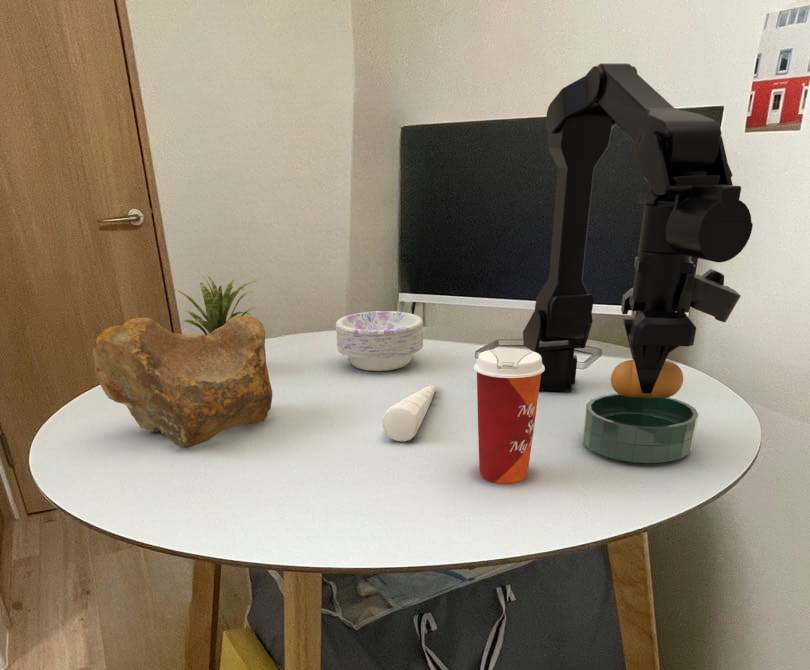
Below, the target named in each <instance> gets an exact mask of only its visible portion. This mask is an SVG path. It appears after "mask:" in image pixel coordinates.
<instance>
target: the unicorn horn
mask: <svg viewBox="0 0 810 670" xmlns="http://www.w3.org/2000/svg"><path fill="white" fill-rule="evenodd" d="M436 388H437V386H436V385H435V384H431V385H428V386H426V387H424V388H422V389H420V390H418V391H416V392H414V393H412V394H410V395H409V396H407V397H405V398H403V399H402V400H400V401H398V402H397V403H395V404H393V405H392V406H390V407H389V408H388V409H387V410H386V411H385V413H384V415H383V417H382V428H383V431H384V434H385V435H386V436H387V437H388V438H389V439H391V440H394V441H396V442H404V443H405V442H408V441H411V440H412V439H413V438H414V437H415V436H416V435H417V434H418V431H419V429H420V427H421V424H422V423H423V420H424V419H425V416H426V414H427V412H428V410H429V407H430V406H431V404H432V401H433V399H434V395H435V393H436Z"/></svg>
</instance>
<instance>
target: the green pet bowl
mask: <svg viewBox="0 0 810 670" xmlns="http://www.w3.org/2000/svg"><path fill="white" fill-rule="evenodd" d="M698 419H699V412H698V410H697V409H696V408H695V407H694V406H692V405H690V404H689V403H687V402H685V401H682V400H679V399H677V398H672V397H668V398H642V397H625V396H621V395H619V394H618V393H610V394H605V395H599V396H597V397H595V398H592V399H590V400H589V401H588V402H587V403H586V404H585V413H584V422H583V430H582V431H583V432H582V442H583V444H584V445H585V446H586V448H588V450H591V451H593V452H595V453H597V454H598V455H601V456H604V457H607V458H610V459H612V460H616V461H620V462H626V463H634V464H659V463H668V462H673V461H676V460H680V459H682V458H684V457H685V456H688V455H689V454H690V453H691V451H692V450H693V446H694V440H695V435H696V430H697V426H698V421H699V420H698Z"/></svg>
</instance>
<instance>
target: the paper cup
mask: <svg viewBox="0 0 810 670" xmlns="http://www.w3.org/2000/svg"><path fill="white" fill-rule="evenodd" d="M473 369H474V371H475V372H476V395H477V396H476V397H477V398H476V399H477V400H476V401H477V432H478V433H477V438H478V439H477V441H478V465H479V466H478V467H479V468H478V469H479V475H480V477H481V478H482V479H483V480H485V481H487V482H489V483H493V484H498V485H499V484H501V485H511V484H518V483H521V482H522V481H524V480H526V479H527V476H528V473H529V466H530V459H531V452H532V445H533V437H534V430H535V424H536V416H537V409H538V403H539V401H538V400H539V393H540V390H539V387H540V380H541V373H542V372H544V370H545V367H544V365H543V364H542V358H541V356H540V354H538V353H536V352H533V351H531V350H530V349H523V348H509V347H507V348H493V349H487V350H485V351H482V352H480V353H479V354H478V356H477V361H476V363H475V364H474V365H473Z"/></svg>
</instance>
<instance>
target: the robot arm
mask: <svg viewBox="0 0 810 670" xmlns="http://www.w3.org/2000/svg"><path fill="white" fill-rule="evenodd" d="M545 116H546V117H545V127H546V130H547V147H548V150H549V152H550V155H551V157H552V158H553V161H554V163H555V165H556V167H557V175H556V188H555V201H554V213H553V225H552V235H551V236H552V237H551V248H550V259H549V260H550V262H549V272H548V278H547V280H546V282H545V283H544V285H543V287H542V288H541V290H540V291H539V293H538V294H537V296H536V298H535V305H534V312H533V313H532V314H531V316H530V318H529V320H528V322H527V323H526V325H525V327H524V329H523V331H522V340H523V343H522V344H523V346H524V347H525V348H527V350H529V351H533V352H536V353H538V354H540V356H541V358H542V364H543V365H544V367H545V370H544V372H542V373H541V380H540V387H539V391H547V392H572V389H573V386H574V385H576V379H577V378H576V376H577V367H578V355H577V354H575V349H585V348H586V346H587V342H588V339H589V335H590V332H591V329H592V325H593V321H594V319H593V307H594V302H595V299H594V297H593V294H590V293H589V292H588V290H587V288H586V286H585V283H584V282H583V281H584V280H583V279H584V278H583V276H584V267H585V257H586V249H587V238H588V229H589V221H590V210H591V203H592V200H591V199H592V193H593V192H592V191H593V183H594V174H595V168H596V167H597V165H598V163H599V162H600V160H601V159H602V158H603V156H604V154H605V153H606V151H607V149H608V148H609V145H610V142H611V141H610V140H611V136H612V130H613V129H614V128H615V127H616V126H618V127H619V128H620V129H621V130H622V131H623V132H624V133H625V134H626V135H627V136H628V137H629V139H630V140H631V141H632V142H633V143H634V144H635V146H636V149H635V154H634V157H633V159H634V162H635V163H636V165H637V167H638V169H639V171H640V172H641V174H642V176H643V178H644V180H645V181H646V182H647V183H648V185H647V186H646V187H645V188H644V189H643V190H642V191H640V193H639V194H638V195H637V197H636V202H637V203H639V204H644V206H643V213H642V221H641V229H640V235H639V242H638V249H637V256H635V258H634V266H633V267H634V268H635V271H634V273H635V274H634V281H633V287H631V288H630V289H628V290H627V291H626V292H625V293H624V294H622V300H621V307H620V308H621V309H620V311H621V314H622V315H628V314H629V311H631V315H630V318H623V319H622V320H623V321H622V322H623V325H624V329H625V333H626V338H627V341H628V347H629V350H630V355H631V357H632V360H634V362H635V366H636V370H637V375H638V379H639V383H640V388H641V392H642V393H647V394H650V393H651V392H652V390H653V388H654V386H655V383H656V381H657V379H658V376H659V374H660V372H661V369H662V367H663V365H664V363H665V361H667V359H668V356H669V354H670V353H671V352H673V351H674V350H676V349H677V348H679V347H693V346H694V344H695V338H696V331H697V327H696V325H695V323H694V322H693V320H692V319H691V317H690V318H689V316H688V314H689V313H690V309H691V308H692V309H694V310H696V311H698V312H701V313H704V314H707V315H709V316H712V317H714V319H715V320H716V321H719V322H721V323H727V320H728V319H729V318H730V315H731V314H732V312H733V310H734V308H735V307H736V306H737V303H738V302H739V300H740V299H741V296H742V294H740V293H739V292H738V291H736V290H735V289H734V288H732V287H730V286H728V285H725V275H724V274H723V273H722V272H720V271H717V270H715V269H712V268H710V269H708V270H707V271H705V273H703V274H702V275H701V274H696V270H697V266H696V264H695V263H694V261H692V258H695V259H700V260H705V261H709V262H713V263H725V262H728V261H730V260H732V259H734V258H736V257H737V256H738V255H739V254H740V253H741V252H742V251H743V250H744V249H745V247H746V246H747V244H748V242H749V240H750V238H751V234H752V231H753V225H754V224H753V222H752V214H751V211H750V209H749V208H748V206H747V205H746V203H745V202H743V201H742V200H741V199H740V197H741V192H742V186H741V185H733V180H732V177H733V172H732V170H731V168H730V166H729V162H728V158H727V157H728V156H727V152H726V150H725V144H724V139H723V136H722V130H721V126H720V125H719V124H718V122H717V121H716V119H712V118H710V117H708V116H705V115H703V114H701V113H697V112H693V111H687V110H682V109H678V108H676V107H674V106H673V105H672V104H671V103H670V102H668V101H667V99H666V98H664V97H663V96H662V95H661V94H660V93H659V92H658V91H657V90H655V89H654V88H653V87H652V86H651V85H650V84H649V83H648V82H647V81H645V79H644V78H642V76H641V75H639V74H638V69H637V68H636V66H633V65H631V63H625V62H624V63H623V62H622V63H611V62H610V63H603V62H602V63H599V64H597V65H594V66H592V67H591V69H589V71H588V72H587V73H586V74H585V76H582V77H581V78H579V79H576V80H575V81H573V82H572V83H569V84H568V85H566V86H565V87H563V88H562V89H560V91H559V92H558V93H557V94H556V95H555V97H554V98H553V99H552V101H551V102H550V103H549V105H548V107H547V111H546V115H545ZM686 313H688V314H686Z"/></svg>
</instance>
